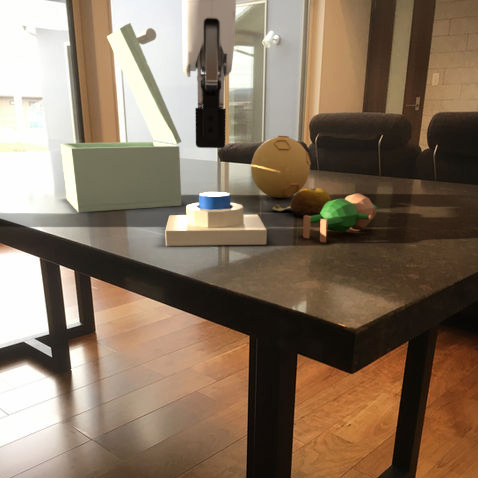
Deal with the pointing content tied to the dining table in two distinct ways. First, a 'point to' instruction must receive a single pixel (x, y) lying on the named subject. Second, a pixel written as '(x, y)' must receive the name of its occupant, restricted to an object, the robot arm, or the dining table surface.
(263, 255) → the dining table surface
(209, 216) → the control block
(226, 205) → the button
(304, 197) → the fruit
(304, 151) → the stress ball
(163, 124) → the lid
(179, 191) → the compartment
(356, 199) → the figurine
